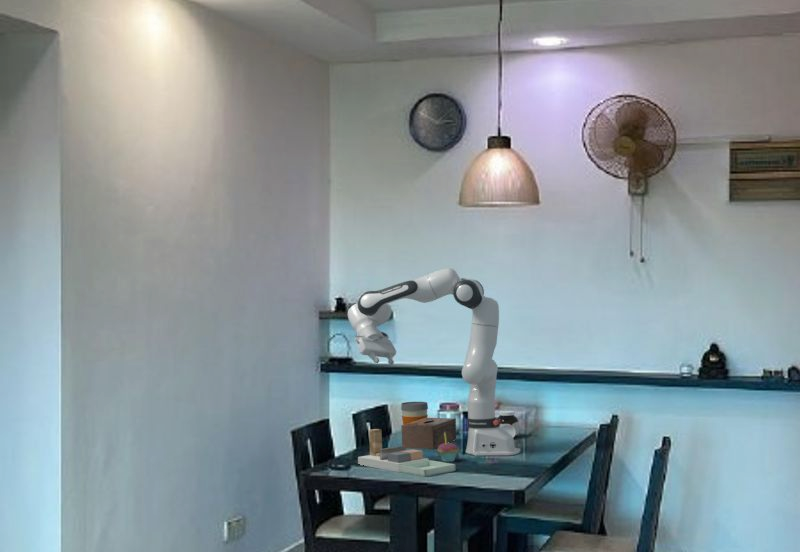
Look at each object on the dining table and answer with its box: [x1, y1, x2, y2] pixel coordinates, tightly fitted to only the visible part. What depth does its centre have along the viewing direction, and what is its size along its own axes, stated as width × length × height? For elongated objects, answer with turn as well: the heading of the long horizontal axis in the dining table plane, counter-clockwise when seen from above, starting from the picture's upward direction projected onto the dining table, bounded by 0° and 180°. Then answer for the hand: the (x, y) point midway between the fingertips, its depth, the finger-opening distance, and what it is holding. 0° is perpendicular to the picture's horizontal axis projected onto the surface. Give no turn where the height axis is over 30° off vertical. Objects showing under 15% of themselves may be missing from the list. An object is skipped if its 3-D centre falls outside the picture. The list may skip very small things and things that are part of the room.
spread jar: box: [496, 410, 520, 439], centre depth 468 cm, size 12×11×12 cm
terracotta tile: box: [401, 448, 424, 461], centre depth 403 cm, size 6×6×3 cm
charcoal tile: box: [388, 451, 410, 463], centre depth 399 cm, size 6×6×3 cm
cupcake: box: [436, 431, 460, 463], centre depth 414 cm, size 9×8×12 cm
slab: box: [357, 454, 430, 473], centre depth 407 cm, size 25×15×3 cm, turn 40°
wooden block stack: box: [368, 428, 406, 460], centre depth 412 cm, size 13×12×10 cm
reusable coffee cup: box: [400, 401, 429, 425], centre depth 487 cm, size 13×13×15 cm
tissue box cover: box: [400, 417, 457, 450], centre depth 459 cm, size 26×14×10 cm, turn 154°
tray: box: [398, 459, 457, 478], centre depth 392 cm, size 15×15×2 cm
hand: (384, 363), depth 432 cm, fingers open, 8 cm apart
